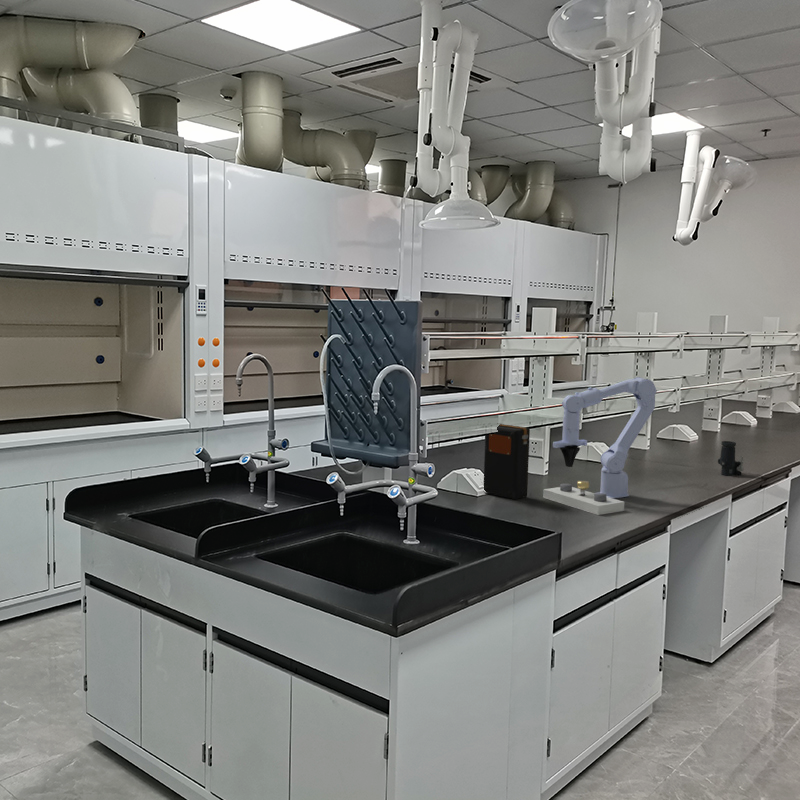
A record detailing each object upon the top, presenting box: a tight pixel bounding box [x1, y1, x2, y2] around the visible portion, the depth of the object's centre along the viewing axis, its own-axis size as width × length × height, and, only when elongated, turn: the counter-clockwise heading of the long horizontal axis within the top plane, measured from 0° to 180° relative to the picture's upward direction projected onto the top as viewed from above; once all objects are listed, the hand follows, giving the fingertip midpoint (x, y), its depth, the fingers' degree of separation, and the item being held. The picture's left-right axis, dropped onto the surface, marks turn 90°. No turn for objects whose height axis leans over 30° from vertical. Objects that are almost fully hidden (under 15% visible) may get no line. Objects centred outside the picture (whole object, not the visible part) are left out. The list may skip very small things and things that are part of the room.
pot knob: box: [576, 480, 590, 496], centre depth 251 cm, size 4×4×5 cm
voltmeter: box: [483, 423, 531, 500], centre depth 261 cm, size 16×9×25 cm, turn 45°
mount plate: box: [542, 486, 625, 516], centre depth 251 cm, size 12×26×3 cm, turn 31°
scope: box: [717, 440, 745, 477], centre depth 306 cm, size 8×14×10 cm
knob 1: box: [559, 483, 573, 492], centre depth 258 cm, size 4×4×5 cm
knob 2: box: [594, 492, 607, 502], centre depth 245 cm, size 4×4×5 cm
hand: (569, 466), depth 263 cm, fingers closed
